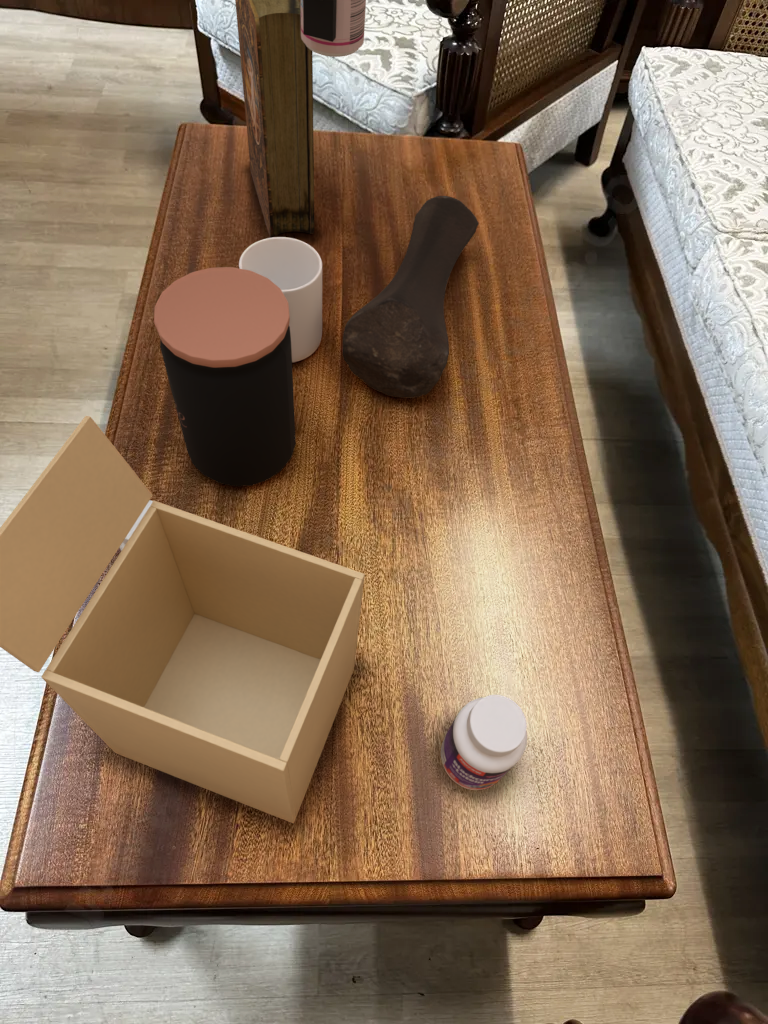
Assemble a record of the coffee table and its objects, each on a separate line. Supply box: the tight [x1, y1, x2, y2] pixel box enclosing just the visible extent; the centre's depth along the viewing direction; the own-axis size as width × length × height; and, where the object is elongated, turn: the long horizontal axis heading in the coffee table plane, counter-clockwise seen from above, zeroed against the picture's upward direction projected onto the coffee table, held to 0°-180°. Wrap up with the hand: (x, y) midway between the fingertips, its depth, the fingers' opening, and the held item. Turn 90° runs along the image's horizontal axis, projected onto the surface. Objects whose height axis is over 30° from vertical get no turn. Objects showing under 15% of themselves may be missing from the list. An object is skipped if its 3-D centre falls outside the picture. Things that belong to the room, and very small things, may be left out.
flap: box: [0, 415, 154, 673], centre depth 41 cm, size 7×13×1 cm
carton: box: [41, 500, 366, 824], centre depth 51 cm, size 15×13×18 cm
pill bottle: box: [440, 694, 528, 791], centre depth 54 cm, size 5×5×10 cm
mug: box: [238, 236, 323, 363], centre depth 76 cm, size 12×8×10 cm
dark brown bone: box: [342, 195, 480, 399], centre depth 81 cm, size 11×10×28 cm
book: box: [234, 0, 316, 238], centre depth 83 cm, size 16×6×25 cm, turn 15°
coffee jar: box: [153, 266, 297, 487], centre depth 65 cm, size 11×11×18 cm
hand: (332, 20), depth 64 cm, fingers closed on beverage can, 6 cm apart
